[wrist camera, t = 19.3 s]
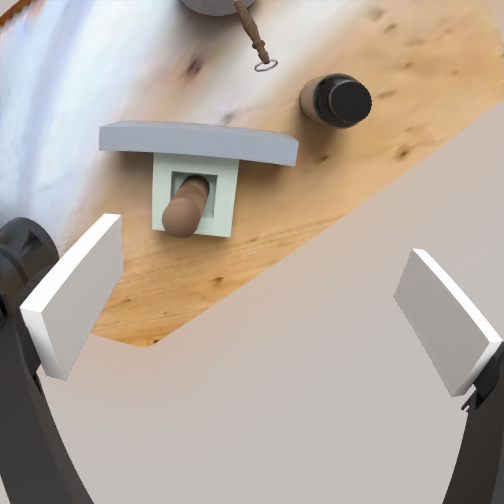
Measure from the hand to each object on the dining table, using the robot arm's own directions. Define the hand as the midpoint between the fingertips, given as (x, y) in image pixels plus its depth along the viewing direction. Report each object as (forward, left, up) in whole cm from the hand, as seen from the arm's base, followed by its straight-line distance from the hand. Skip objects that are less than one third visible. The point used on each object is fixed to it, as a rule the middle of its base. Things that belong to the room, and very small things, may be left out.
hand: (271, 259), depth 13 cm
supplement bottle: (+9, +8, -33) cm, 35 cm away
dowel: (-7, -7, -31) cm, 32 cm away
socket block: (-7, -7, -33) cm, 34 cm away
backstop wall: (-7, +1, -33) cm, 34 cm away
